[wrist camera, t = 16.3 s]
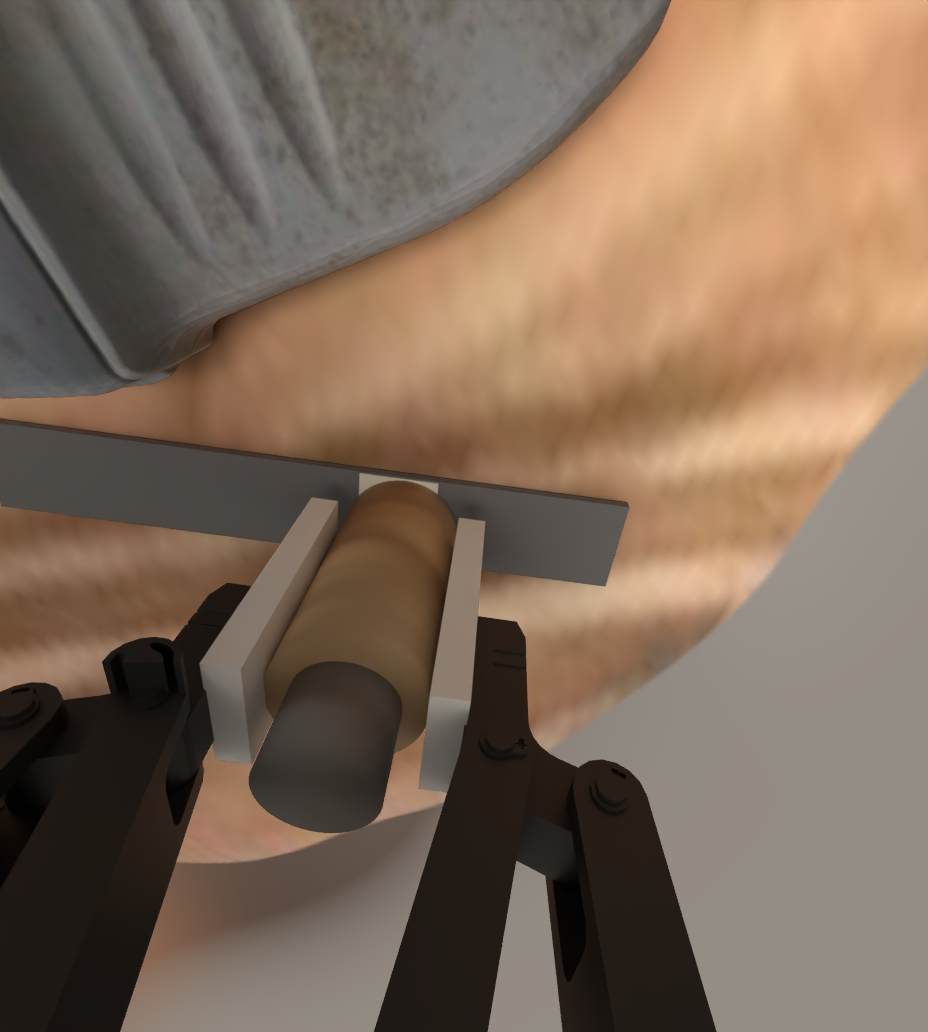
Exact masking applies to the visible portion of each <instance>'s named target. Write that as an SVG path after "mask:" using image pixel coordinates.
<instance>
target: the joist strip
mask: <svg viewBox="0 0 928 1032" xmlns="http://www.w3.org/2000/svg"><path fill="white" fill-rule="evenodd" d="M395 480H400V481H409V482H414V483H417V484H420V485H422V486H425V487H427V488H429V489H430V490H432V491H434V492H435V493H436V494H438V495H439V496H440V497H441V498H442V499H443V500H444V501H445V502H446V503H447V505H448V506H449V507H450V509H451V511H452V513H453V515H454V517H455V520H456V524H457V527H458V521H459V518H465V519H472V520H479V521H485V532H484V545H483V557H482V570H486V571H493V572H501V573H508V574H516V575H523V576H531V577H538V578H546V579H553V580H561V581H568V582H576V583H583V584H591V585H598V586H605V585H606V582H607V579H608V575H609V572H610V569H611V566H612V562H613V559H614V556H615V553H616V549H617V546H618V543H619V539H620V536H621V533H622V530H623V526H624V523H625V520H626V517H627V513H628V510H629V505H628V503H626V502H619V501H611V500H604V499H596V498H589V497H581V496H574V495H566V494H559V493H551V492H544V491H536V490H529V489H521V488H514V487H506V486H499V485H491V484H484V483H476V482H469V481H461V480H454V479H446V478H439V477H431V476H424V475H416V474H409V473H401V472H393V471H386V470H378V469H371V468H363V467H356V466H348V465H341V464H333V463H326V462H318V461H311V460H303V459H296V458H288V457H281V456H273V455H266V454H258V453H251V452H243V451H236V450H228V449H221V448H213V447H206V446H198V445H191V444H183V443H176V442H168V441H161V440H153V439H146V438H138V437H131V436H123V435H116V434H108V433H101V432H93V431H86V430H78V429H71V428H63V427H56V426H48V425H41V424H33V423H26V422H18V421H11V420H3V419H0V503H1V506H5V507H12V508H20V509H27V510H35V511H42V512H50V513H57V514H65V515H72V516H80V517H87V518H95V519H102V520H110V521H117V522H125V523H132V524H140V525H148V526H155V527H163V528H170V529H178V530H185V531H193V532H200V533H208V534H215V535H223V536H230V537H238V538H245V539H253V540H260V541H268V542H275V543H281V542H282V541H283V539H284V538H285V536H286V535H287V533H288V532H289V530H290V529H291V527H292V526H293V524H294V523H295V521H296V520H297V519H298V517H299V516H300V514H301V513H302V511H303V510H304V508H305V507H306V505H307V504H308V502H309V501H310V499H311V498H320V499H327V500H334V501H338V531H339V529H340V528H341V526H342V524H343V522H344V520H345V518H346V516H347V514H348V512H349V510H350V508H351V506H352V505H353V503H354V501H355V500H356V498H357V497H358V496H359V495H360V494H361V493H362V492H364V491H365V490H366V489H368V488H370V487H371V486H374V485H376V484H378V483H382V482H386V481H395Z"/></svg>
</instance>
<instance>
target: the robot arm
mask: <svg viewBox="0 0 928 1032" xmlns="http://www.w3.org/2000/svg"><path fill="white" fill-rule="evenodd" d="M484 532H485V521H479V520H472V519H465V518H459V521H458V527H457V533H456V539H455V545H454V551H453V557H452V563H451V569H450V575H449V581H448V587H447V593H446V599H445V606H444V612H443V618H442V624H441V630H440V636H439V642H438V648H437V654H436V660H435V666H434V672H433V678H432V684H431V690H430V696H429V705H428V713H427V721H426V730H425V738H424V746H423V754H422V763H421V771H420V779H419V789H426V790H433V791H440V792H447V795H446V799H445V802H444V805H443V808H442V812H441V815H440V818H439V821H438V825H437V828H436V831H435V834H434V838H433V841H432V844H431V847H430V851H429V854H428V857H427V860H426V864H425V867H424V871H423V874H422V877H421V880H420V883H419V887H418V890H417V893H416V896H415V900H414V903H413V906H412V909H411V913H410V916H409V919H408V922H407V926H406V929H405V932H404V936H403V939H402V942H401V945H400V948H399V952H398V955H397V959H396V961H395V965H394V968H393V971H392V975H391V978H390V981H389V984H388V988H387V991H386V994H385V997H384V1001H383V1004H382V1007H381V1011H380V1014H379V1017H378V1021H377V1023H376V1027H375V1030H374V1032H487V1031H488V1025H489V1019H490V1014H491V1008H492V1001H493V996H494V990H495V984H496V978H497V972H498V966H499V960H500V954H501V948H502V942H503V936H504V930H505V924H506V918H507V912H508V906H509V900H510V894H511V888H512V882H513V876H514V870H515V864H516V861H519V862H520V863H522V864H524V865H526V866H528V867H530V868H532V869H534V870H536V871H538V872H539V873H542V874H543V875H545V876H546V885H547V894H548V903H549V913H550V922H551V931H552V940H553V948H554V958H555V966H556V975H557V985H558V994H559V1003H560V1012H561V1022H562V1031H563V1032H716V1029H715V1025H714V1022H713V1018H712V1015H711V1012H710V1008H709V1005H708V1001H707V998H706V995H705V991H704V988H703V984H702V981H701V978H700V974H699V971H698V967H697V964H696V961H695V957H694V954H693V950H692V947H691V944H690V941H689V937H688V934H687V930H686V927H685V923H684V920H683V917H682V913H681V910H680V906H679V903H678V900H677V896H676V893H675V889H674V886H673V883H672V879H671V876H670V872H669V869H668V866H667V862H666V859H665V855H664V852H663V849H662V845H661V842H660V838H659V835H658V832H657V828H656V825H655V822H654V818H653V815H652V811H651V808H650V805H649V801H648V798H647V795H646V793H645V791H644V789H643V787H642V785H641V783H640V781H638V779H637V778H636V777H635V776H634V775H633V774H632V773H631V772H630V771H629V770H627V769H625V768H624V767H622V766H620V765H619V764H617V763H614V762H610V761H606V760H593V761H588V762H587V763H585V764H583V765H582V766H580V767H579V768H578V767H576V766H573V765H571V764H569V763H567V762H564V761H562V760H560V759H558V758H556V757H554V756H553V755H551V754H549V753H548V752H547V751H545V750H544V749H543V748H542V747H541V746H540V745H539V744H538V743H537V741H536V740H535V739H534V737H533V735H532V733H531V731H530V728H529V722H528V700H527V671H526V640H525V636H524V634H523V632H522V631H521V629H520V627H519V625H518V624H517V622H515V621H508V620H500V619H493V618H486V617H479V616H478V607H479V594H480V582H481V570H482V557H483V545H484ZM337 533H338V501H334V500H327V499H320V498H311V499H310V501H309V502H308V504H307V505H306V507H305V508H304V510H303V511H302V513H301V514H300V516H299V517H298V519H297V520H296V521H295V523H294V524H293V526H292V527H291V529H290V530H289V532H288V533H287V535H286V536H285V538H284V539H283V541H282V542H281V544H280V545H279V547H278V548H277V550H276V551H275V553H274V554H273V555H272V557H271V558H270V560H269V561H268V563H267V564H266V566H265V567H264V569H263V570H262V572H261V573H260V575H259V576H258V578H257V579H256V581H255V582H254V584H253V585H252V586H246V585H239V584H232V583H227V584H225V585H223V586H222V587H220V588H219V589H217V590H216V591H214V592H213V593H211V594H210V595H209V596H208V597H207V598H206V599H205V601H204V602H203V603H202V605H201V606H200V607H199V609H198V611H197V613H195V614H194V615H193V616H192V618H191V619H190V620H189V621H188V625H185V627H184V628H183V629H182V631H181V632H180V633H179V634H178V636H177V637H176V638H175V640H174V641H171V640H169V639H165V638H159V637H150V638H140V639H137V640H134V641H131V642H128V643H125V644H123V645H122V646H120V647H118V648H117V649H115V650H113V651H112V652H111V653H110V654H109V655H108V656H107V657H106V658H105V659H104V660H103V661H102V664H103V667H104V671H105V674H106V678H107V681H108V685H109V688H110V692H111V694H106V695H101V696H93V697H85V698H76V699H68V700H63V698H62V695H61V694H60V692H59V690H58V689H57V687H54V686H52V685H50V684H47V683H33V682H31V683H27V684H22V685H17V686H13V687H11V688H9V689H6V690H4V691H2V692H0V1032H120V1030H121V1027H122V1024H123V1021H124V1018H125V1015H126V1012H127V1009H128V1006H129V1003H130V1000H131V997H132V994H133V991H134V988H135V985H136V982H137V979H138V976H139V972H140V969H141V967H142V964H143V961H144V958H145V955H146V951H147V949H148V945H149V942H150V939H151V936H152V933H153V930H154V927H155V924H156V921H157V918H158V915H159V912H160V909H161V906H162V903H163V900H164V897H165V894H166V891H167V888H168V885H169V882H170V879H171V876H172V872H173V870H174V867H175V864H176V861H177V858H178V855H179V851H180V848H181V845H182V842H183V839H184V836H185V833H186V830H187V827H188V824H189V821H190V818H191V815H192V812H193V809H194V806H195V803H196V800H197V797H198V794H199V791H200V788H201V785H202V782H203V774H204V768H203V763H202V761H203V759H204V757H205V755H206V754H207V752H208V750H209V748H210V746H211V745H212V743H213V748H214V754H215V760H220V761H227V762H235V763H242V764H249V765H252V763H253V761H254V759H255V757H256V754H257V752H258V750H259V748H260V746H261V744H262V741H263V739H264V737H265V735H266V733H267V731H268V728H269V726H270V724H271V722H272V720H273V718H272V716H271V715H270V713H269V711H268V709H267V708H266V699H265V688H264V675H265V672H266V670H267V668H268V666H269V664H270V662H271V660H272V658H273V656H274V655H275V653H276V651H277V649H278V647H279V645H280V643H281V641H282V639H283V637H284V635H285V633H286V631H287V629H288V628H289V626H290V624H291V622H292V620H293V618H294V616H295V614H296V612H297V610H298V608H299V606H300V604H301V603H302V601H303V599H304V597H305V595H306V593H307V591H308V589H309V587H310V585H311V583H312V581H313V579H314V578H315V576H316V574H317V572H318V570H319V568H320V566H321V564H322V562H323V560H324V558H325V556H326V554H327V553H328V551H329V549H330V547H331V545H332V543H333V541H334V539H335V537H336V535H337Z"/></svg>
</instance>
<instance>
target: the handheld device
mask: <svg viewBox="0 0 928 1032" xmlns="http://www.w3.org/2000/svg"><path fill="white" fill-rule="evenodd" d="M670 2H671V0H0V398H45V397H75V396H92V395H99V394H104V393H109V392H112V391H115V390H117V389H120V388H123V387H132V386H141V385H150V384H154V383H157V382H160V381H161V380H163V379H165V378H167V377H169V376H171V375H172V374H173V373H174V371H175V370H176V368H177V366H178V364H179V363H180V362H182V361H183V360H185V359H187V358H188V357H190V356H192V355H194V354H196V353H198V352H200V351H202V350H203V349H205V348H207V347H209V346H210V345H211V344H212V342H213V339H214V334H213V325H214V324H215V323H216V321H217V320H219V319H221V318H223V317H225V316H227V315H229V314H232V313H234V312H237V311H239V310H242V309H244V308H247V307H249V306H252V305H254V304H257V303H259V302H262V301H264V300H266V299H269V298H271V297H273V296H276V295H278V294H281V293H283V292H285V291H288V290H290V289H292V288H295V287H297V286H300V285H302V284H305V283H308V282H310V281H312V280H315V279H317V278H320V277H322V276H325V275H327V274H330V273H332V272H335V271H337V270H340V269H342V268H345V267H347V266H350V265H352V264H355V263H357V262H359V261H362V260H364V259H366V258H369V257H371V256H374V255H376V254H378V253H381V252H383V251H386V250H388V249H391V248H393V247H396V246H398V245H401V244H403V243H406V242H408V241H410V240H413V239H415V238H418V237H420V236H422V235H425V234H427V233H430V232H432V231H435V230H436V229H438V228H440V227H442V226H444V225H446V224H448V223H450V222H452V221H454V220H456V219H457V218H459V217H461V216H463V215H465V214H466V213H468V212H470V211H472V210H473V209H475V208H476V207H478V206H480V205H481V204H483V203H484V202H486V201H488V200H489V199H491V198H492V197H494V196H496V195H497V194H498V193H500V192H501V191H502V190H504V189H505V188H506V187H508V186H509V185H510V184H512V183H513V182H514V181H516V180H517V179H518V178H520V177H521V176H522V175H524V174H525V173H526V172H528V171H529V170H530V169H532V168H533V167H534V166H535V165H536V164H538V163H539V162H540V161H541V160H543V159H544V158H545V157H546V156H548V155H549V154H550V153H551V152H552V151H553V150H554V149H555V148H557V147H558V146H559V145H560V144H561V143H562V142H563V141H564V140H565V139H566V138H567V137H568V136H569V135H570V134H571V133H573V132H574V131H575V130H576V129H577V128H578V127H579V126H580V125H581V124H582V123H583V122H584V121H585V120H586V119H587V118H588V117H589V116H590V115H591V114H592V113H593V112H594V111H595V110H596V109H597V107H598V106H599V105H600V104H601V103H602V102H603V101H604V100H605V99H606V98H607V97H608V96H609V95H610V93H611V92H612V91H613V90H614V89H615V88H616V87H617V86H618V84H619V83H620V82H621V81H622V80H623V79H624V78H625V76H626V75H627V74H628V73H629V72H630V71H631V69H632V68H633V67H634V66H635V64H636V63H637V62H638V60H639V59H640V58H641V57H642V55H643V54H644V53H645V51H646V50H647V49H648V47H649V46H650V44H651V42H652V41H653V39H654V37H655V36H656V34H657V33H658V31H659V29H660V27H661V24H662V22H663V20H664V17H665V15H666V12H667V10H668V7H669V5H670Z"/></svg>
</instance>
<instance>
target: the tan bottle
mask: <svg viewBox="0 0 928 1032" xmlns="http://www.w3.org/2000/svg"><path fill="white" fill-rule="evenodd" d="M456 533H457V524H456V520H455V517H454V515H453V513H452V511H451V509H450V507H449V506H448V505H447V503H446V502H445V501H444V500H443V499H442V498H441V497H440V496H439V495H438V494H436V493H435V492H434V491H432V490H430V489H429V488H427V487H425V486H422V485H420V484H417V483H414V482H409V481H400V480H395V481H386V482H382V483H378V484H376V485H374V486H371V487H370V488H368V489H366V490H365V491H364V492H362V493H361V494H360V495H359V496H358V497H357V498H356V500H355V501H354V503H353V505H352V506H351V508H350V510H349V512H348V514H347V516H346V518H345V520H344V522H343V524H342V526H341V528H340V529H339V531H338V533H337V535H336V537H335V539H334V541H333V543H332V545H331V547H330V549H329V551H328V553H327V554H326V556H325V558H324V560H323V562H322V564H321V566H320V568H319V570H318V572H317V574H316V576H315V578H314V579H313V581H312V583H311V585H310V587H309V589H308V591H307V593H306V595H305V597H304V599H303V601H302V603H301V604H300V606H299V608H298V610H297V612H296V614H295V616H294V618H293V620H292V622H291V624H290V626H289V628H288V629H287V631H286V633H285V635H284V637H283V639H282V641H281V643H280V645H279V647H278V649H277V651H276V653H275V655H274V656H273V658H272V660H271V662H270V664H269V666H268V668H267V670H266V672H265V675H264V688H265V699H266V708H267V709H268V711H269V713H270V715H271V716H272V718H273V719H274V721H273V723H272V725H271V727H270V730H269V732H268V734H267V736H266V738H265V741H264V743H263V745H262V747H261V749H260V752H259V754H258V756H257V758H256V760H255V763H254V765H253V767H252V769H251V771H250V775H249V786H250V790H251V792H252V794H253V796H254V798H255V799H256V801H257V802H258V803H259V804H260V805H261V806H262V807H263V808H264V809H265V810H266V811H267V812H269V813H270V814H271V815H273V816H275V817H276V818H278V819H280V820H281V821H283V822H285V823H288V824H290V825H293V826H295V827H298V828H302V829H305V830H310V831H315V832H323V833H342V832H349V831H353V830H357V829H359V828H362V827H364V826H366V825H368V824H370V823H371V822H372V821H374V820H375V819H376V818H377V817H378V815H379V814H380V812H381V810H382V807H383V802H384V797H385V793H386V788H387V783H388V778H389V774H390V769H391V764H392V759H393V755H394V753H396V752H398V751H401V750H402V749H404V748H406V747H408V746H409V745H410V744H412V743H413V742H414V741H415V740H416V739H417V738H418V737H419V736H420V735H421V733H422V732H423V730H424V729H425V726H426V721H427V713H428V705H429V696H430V690H431V684H432V678H433V672H434V666H435V660H436V654H437V648H438V642H439V636H440V630H441V624H442V618H443V612H444V606H445V599H446V593H447V587H448V581H449V575H450V569H451V563H452V557H453V551H454V545H455V539H456Z"/></svg>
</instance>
